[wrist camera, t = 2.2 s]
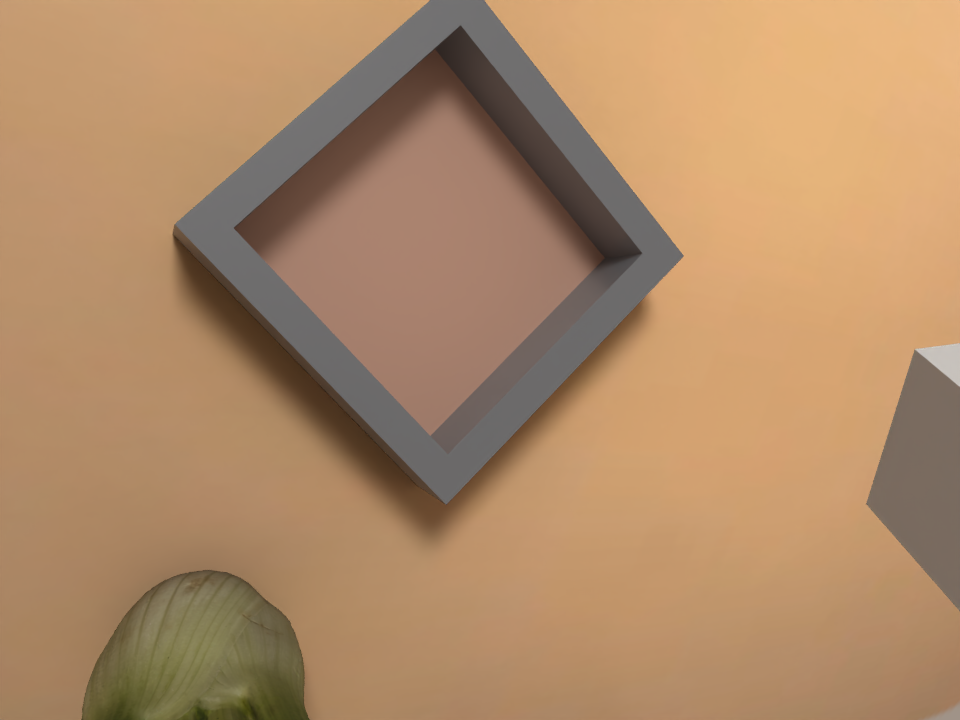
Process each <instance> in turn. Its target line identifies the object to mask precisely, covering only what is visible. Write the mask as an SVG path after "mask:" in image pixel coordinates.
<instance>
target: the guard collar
mask: <svg viewBox="0 0 960 720" xmlns="http://www.w3.org/2000/svg"><path fill="white" fill-rule="evenodd" d="M173 235H174V236H175V237H176V238H177V239H178V240H179V241H180V242H181V243H182V244H183V245H184V246H185V247H186V248H187V249H188V250H189V251H190V252H191V253H192V254H193V255H194V256H195V257H196V259H197V260H198V261H199V262H200V263H201V264H202V265H203V266H204V267H205V268H206V269H207V270H208V271H209V272H210V273H211V274H212V275H213V276H214V277H215V278H216V279H217V280H218V281H219V282H220V283H221V284H222V285H223V286H224V287H225V288H226V289H227V290H228V291H229V292H230V293H231V294H232V296H233V297H234V298H235V299H236V300H237V301H238V302H239V303H240V304H241V305H242V306H243V307H244V308H245V309H246V310H247V311H248V312H249V313H250V314H251V315H252V316H253V317H254V318H255V319H256V320H257V321H258V322H259V323H260V324H261V325H262V326H263V327H264V328H265V329H266V330H267V331H268V333H269V334H270V335H271V336H272V337H273V338H274V339H275V340H276V341H277V342H278V343H279V344H280V345H281V346H282V347H283V348H284V349H285V350H286V351H287V352H288V353H289V354H290V355H291V356H292V357H293V358H294V359H295V360H296V361H297V362H298V363H299V364H300V365H301V366H302V367H303V368H304V370H305V371H306V372H307V373H308V374H309V375H310V376H311V377H312V378H313V379H314V380H315V381H316V382H317V383H318V384H319V385H320V386H321V387H322V388H323V389H324V390H325V391H326V392H327V393H328V394H329V395H330V396H331V397H332V398H333V399H334V400H335V401H336V402H337V403H338V404H339V405H340V407H341V408H342V409H343V410H344V411H345V412H346V413H347V414H348V415H349V416H350V417H351V418H352V419H353V420H354V421H355V422H356V423H357V424H358V425H359V426H360V427H361V428H362V429H363V430H364V431H365V432H366V433H367V434H368V435H369V436H370V437H371V438H372V439H373V440H374V441H375V442H376V444H377V445H378V446H379V447H380V448H381V449H382V450H383V451H384V452H385V453H386V454H387V455H388V456H389V457H390V458H391V459H392V460H393V461H394V462H395V463H396V464H397V465H398V466H399V467H400V468H401V469H402V470H403V471H404V472H405V473H406V474H407V475H408V476H409V477H410V478H411V480H412V481H413V482H414V483H415V484H416V485H417V486H419V487H420V488H422V489H423V490H425V491H426V492H428V493H429V494H431V495H432V496H434V497H435V498H437V499H438V500H440V501H441V502H443V503H444V504H446V505H447V503H448V502H449V501H450V500H451V499H452V498H453V497H454V496H455V495H456V494H457V493H458V492H459V491H460V490H461V489H462V488H463V487H464V486H465V485H466V484H467V483H468V482H469V480H470V479H471V478H472V477H473V476H474V475H475V474H476V473H477V472H478V471H479V470H480V469H481V468H482V467H483V466H484V465H485V464H486V463H487V462H488V461H489V460H490V458H491V457H492V456H493V455H494V454H495V453H496V452H497V451H498V450H499V449H500V448H501V447H502V446H503V445H504V444H505V443H506V442H507V441H508V440H509V439H510V438H511V436H512V435H513V434H514V433H515V432H516V431H517V430H518V429H519V428H520V427H521V426H522V425H523V424H524V423H525V422H526V421H527V420H528V419H529V418H530V417H531V416H532V414H533V413H534V412H535V411H536V410H537V409H538V408H539V407H540V406H541V405H542V404H543V403H544V402H545V401H546V400H547V399H548V398H549V397H550V396H551V395H552V394H553V392H554V391H555V390H556V389H557V388H558V387H559V386H560V385H561V384H562V383H563V382H564V381H565V380H566V379H567V378H568V377H569V376H570V375H571V374H572V373H573V372H574V371H575V369H576V368H577V367H578V366H579V365H580V364H581V363H582V362H583V361H584V360H585V359H586V358H587V357H588V356H589V355H590V354H591V353H592V352H593V351H594V350H595V349H596V347H597V346H598V345H599V344H600V343H601V342H602V341H603V340H604V339H605V338H606V337H607V336H608V335H609V334H610V333H611V332H612V331H613V330H614V329H615V328H616V327H617V325H618V324H619V323H620V322H621V321H622V320H623V319H624V318H625V317H626V316H627V315H628V314H629V313H630V312H631V311H632V310H633V309H634V308H635V307H636V306H637V305H638V303H639V302H640V301H641V300H642V299H643V298H644V297H645V296H646V295H647V294H648V293H649V292H650V291H651V290H652V289H653V288H654V287H655V286H656V285H657V284H658V283H659V281H660V280H661V279H662V278H663V277H664V276H665V275H666V274H667V273H668V272H669V271H670V270H671V269H672V268H673V267H674V266H675V265H676V264H677V263H678V262H679V261H680V260H681V258H682V257H683V254H682V253H681V252H680V251H679V249H678V248H677V247H676V245H675V244H674V243H673V242H672V240H671V239H670V238H669V236H668V235H667V234H666V233H665V231H664V230H663V229H662V227H661V226H660V225H659V224H658V222H657V221H656V220H655V219H654V217H653V216H652V215H651V213H650V212H649V211H648V210H647V208H646V207H645V206H644V204H643V203H642V202H641V201H640V199H639V198H638V197H637V195H636V194H635V193H634V192H633V190H632V189H631V188H630V187H629V185H628V184H627V183H626V181H625V180H624V179H623V178H622V176H621V175H620V174H619V172H618V171H617V170H616V169H615V167H614V166H613V165H612V163H611V162H610V161H609V160H608V158H607V157H606V156H605V155H604V153H603V152H602V151H601V149H600V148H599V147H598V146H597V144H596V143H595V142H594V140H593V139H592V138H591V137H590V135H589V134H588V133H587V131H586V130H585V129H584V128H583V126H582V125H581V124H580V123H579V121H578V120H577V119H576V117H575V116H574V115H573V114H572V112H571V111H570V110H569V108H568V107H567V106H566V105H565V103H564V102H563V101H562V100H561V98H560V97H559V96H558V94H557V93H556V92H555V91H554V89H553V88H552V87H551V85H550V84H549V83H548V82H547V80H546V79H545V78H544V76H543V75H542V74H541V73H540V71H539V70H538V69H537V68H536V66H535V65H534V64H533V62H532V61H531V60H530V59H529V57H528V56H527V55H526V53H525V52H524V51H523V50H522V48H521V47H520V46H519V44H518V43H517V42H516V41H515V39H514V38H513V37H512V36H511V34H510V33H509V32H508V30H507V29H506V28H505V27H504V25H503V24H502V23H501V21H500V20H499V19H498V18H497V16H496V15H495V14H494V12H493V11H492V10H491V9H490V7H489V6H488V5H487V4H486V2H485V1H484V0H430V1H429V2H428V3H427V4H426V5H424V6H423V7H422V8H421V9H420V10H419V11H418V12H416V13H415V14H414V15H413V16H412V17H411V18H410V19H408V20H407V21H406V22H405V23H404V24H403V25H402V26H400V27H399V28H398V29H397V30H396V31H395V32H394V33H392V34H391V35H390V36H389V37H388V38H387V39H386V40H384V41H383V42H382V43H381V44H380V45H379V46H378V47H376V48H375V49H374V50H373V51H372V52H371V53H370V54H368V55H367V56H366V57H365V58H364V59H363V60H362V61H360V62H359V63H358V64H357V65H356V66H355V67H354V68H352V69H351V70H350V71H349V72H348V73H347V74H346V75H344V76H343V77H342V78H341V79H340V80H339V81H338V82H336V83H335V84H334V85H333V86H332V87H331V88H330V89H329V90H327V91H326V92H325V93H324V94H323V95H322V96H321V97H319V98H318V99H317V100H316V101H315V102H314V103H313V104H311V105H310V106H309V107H308V108H307V109H306V110H305V111H303V112H302V113H301V114H300V115H299V116H298V117H297V118H295V119H294V120H293V121H292V122H291V123H290V124H289V125H287V126H286V127H285V128H284V129H283V130H282V131H281V132H279V133H278V134H277V135H276V136H275V137H274V138H273V139H271V140H270V141H269V142H268V143H267V144H266V145H265V146H263V147H262V148H261V149H260V150H259V151H258V152H257V153H255V154H254V155H253V156H252V157H251V158H250V159H249V160H247V161H246V162H245V163H244V164H243V165H242V166H241V167H239V168H238V169H237V170H236V171H235V172H234V173H233V174H231V175H230V176H229V177H228V178H227V179H226V180H225V181H224V182H222V183H221V184H220V185H219V186H218V187H217V188H216V189H214V190H213V191H212V192H211V193H210V194H209V195H208V196H206V197H205V198H204V199H203V200H202V201H201V202H200V203H198V204H197V205H196V206H195V207H194V208H193V209H192V210H190V211H189V212H188V213H187V214H186V215H185V216H184V217H182V218H181V219H180V220H179V221H178V222H177V223H176V224H175V225H174V229H173Z"/></svg>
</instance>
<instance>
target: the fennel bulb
mask: <svg viewBox="0 0 960 720" xmlns="http://www.w3.org/2000/svg"><path fill="white" fill-rule="evenodd" d="M82 720H309V718H308V715H307V713H306V710H305V707H304V664H303V658H302V654H301V650H300V647H299V643H298V640H297V638H296V635H295V632H294V630H293V628H292V626H291V623H290V621H289V620H288V619H287V618H286V616H285V615H284V614H282V612H281V611H279V610H278V609H277V608H276V607H274V606H273V605H272V604H270V603H269V602H268V601H267V600H265V599H264V598H263V597H262V596H261V595H260V594H259V593H258V592H257V591H256V590H255V589H254V588H253V587H252V586H251V585H250V584H249V583H247V582H246V581H244V580H243V579H241V578H239V577H237V576H234V575H232V574H229V573H227V572H218V571H212V570H203V571H196V572H189V573H185V574H180V575H177V576H175V577H172V578H170V579H167V580H165V581H163V582H161V583H160V584H158V585H157V586H155V587H153V588H152V589H151V590H150V591H148V592H147V593H145V594H144V595H143V597H142V598H141V599H140V600H139V601H138V602H137V603H136V604H135V605H134V606H133V607H132V608H131V609H130V610H129V612H128V613H127V614H126V615H125V616H124V618H123V620H122V621H121V623H120V624H119V625H118V627H117V629H116V630H115V632H114V634H113V635H112V637H111V638H110V640H109V642H108V644H107V645H106V647H105V648H104V650H103V652H102V653H101V655H100V657H99V659H98V660H97V662H96V664H95V667H94V669H93V672H92V674H91V677H90V680H89V683H88V686H87V689H86V693H85V697H84V704H83V708H82Z"/></svg>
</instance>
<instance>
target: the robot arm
mask: <svg viewBox="0 0 960 720" xmlns="http://www.w3.org/2000/svg"><path fill="white" fill-rule="evenodd" d="M866 504H867V505H868V507H869V508H870V509H871V510H872V511H873V512H874V513H875V515H876V516H877V517H878V518H879V519H880V520H881V521H882V523H883V524H884V525H885V526H886V527H887V528H888V529H889V531H890V532H891V533H892V534H893V535H894V536H895V537H896V539H897V540H898V541H899V542H900V543H901V544H902V545H903V547H904V548H905V549H906V550H907V551H908V552H909V553H910V555H911V556H912V557H913V558H914V559H915V560H916V561H917V563H918V564H919V565H920V566H921V567H922V568H923V569H924V571H925V572H926V573H927V574H928V575H929V576H930V577H931V579H932V580H933V581H934V582H935V583H936V584H937V585H938V587H939V588H940V589H941V590H942V591H943V592H944V593H945V595H946V596H947V597H948V598H949V599H950V600H951V602H952V603H953V604H954V605H955V606H956V607H957V608H958V610H959V611H960V343H959V344H951V345H943V346H936V347H928V348H920V349H915V350H914V354H913V357H912V360H911V363H910V366H909V369H908V373H907V376H906V379H905V382H904V385H903V389H902V392H901V395H900V398H899V401H898V405H897V408H896V411H895V414H894V417H893V420H892V424H891V427H890V430H889V433H888V436H887V440H886V443H885V446H884V449H883V452H882V455H881V459H880V462H879V465H878V468H877V471H876V475H875V478H874V481H873V484H872V487H871V491H870V494H869V497H868V500H867V503H866Z"/></svg>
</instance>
